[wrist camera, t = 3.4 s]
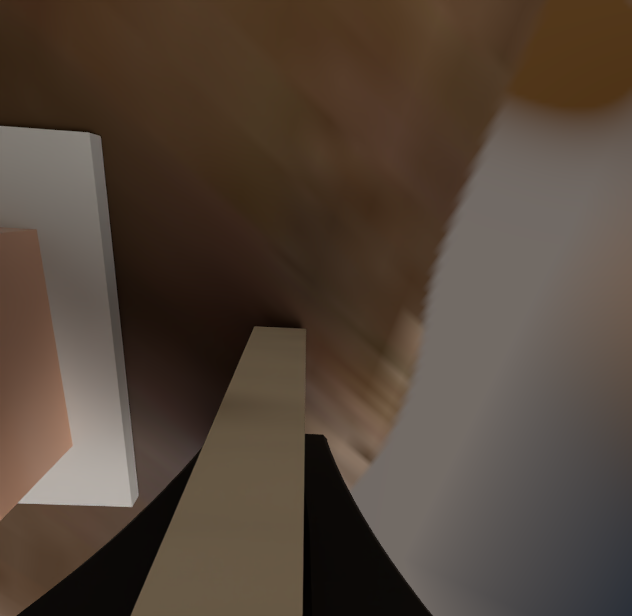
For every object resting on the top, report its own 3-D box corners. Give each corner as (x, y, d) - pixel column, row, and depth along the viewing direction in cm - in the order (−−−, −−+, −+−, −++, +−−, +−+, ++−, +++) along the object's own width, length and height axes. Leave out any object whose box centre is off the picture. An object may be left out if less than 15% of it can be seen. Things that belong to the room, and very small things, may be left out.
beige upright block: (297, 484, 13) (280, 929, 5) (252, 482, 12) (165, 931, 5) (306, 328, 11) (301, 641, 3) (254, 326, 11) (120, 639, 3)
